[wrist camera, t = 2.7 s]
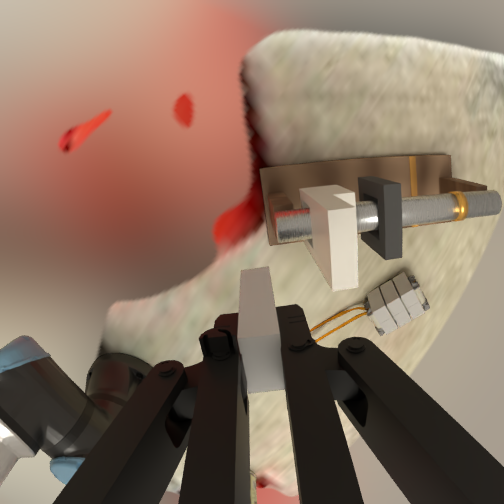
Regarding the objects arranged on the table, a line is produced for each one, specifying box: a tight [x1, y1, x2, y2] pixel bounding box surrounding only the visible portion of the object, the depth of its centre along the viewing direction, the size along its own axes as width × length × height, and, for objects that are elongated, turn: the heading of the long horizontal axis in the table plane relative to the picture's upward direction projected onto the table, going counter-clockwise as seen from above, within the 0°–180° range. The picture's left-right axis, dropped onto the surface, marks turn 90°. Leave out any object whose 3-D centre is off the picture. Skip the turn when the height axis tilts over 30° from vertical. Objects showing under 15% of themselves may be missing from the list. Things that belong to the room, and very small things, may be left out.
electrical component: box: [310, 272, 430, 342], centre depth 47 cm, size 24×6×5 cm, turn 127°
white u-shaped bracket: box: [299, 185, 358, 292], centre depth 28 cm, size 4×6×12 cm, turn 8°
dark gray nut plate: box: [358, 176, 402, 260], centre depth 30 cm, size 2×7×7 cm, turn 8°
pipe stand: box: [259, 155, 487, 246], centre depth 37 cm, size 28×10×10 cm, turn 98°
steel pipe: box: [274, 190, 502, 243], centre depth 30 cm, size 27×3×3 cm, turn 98°
